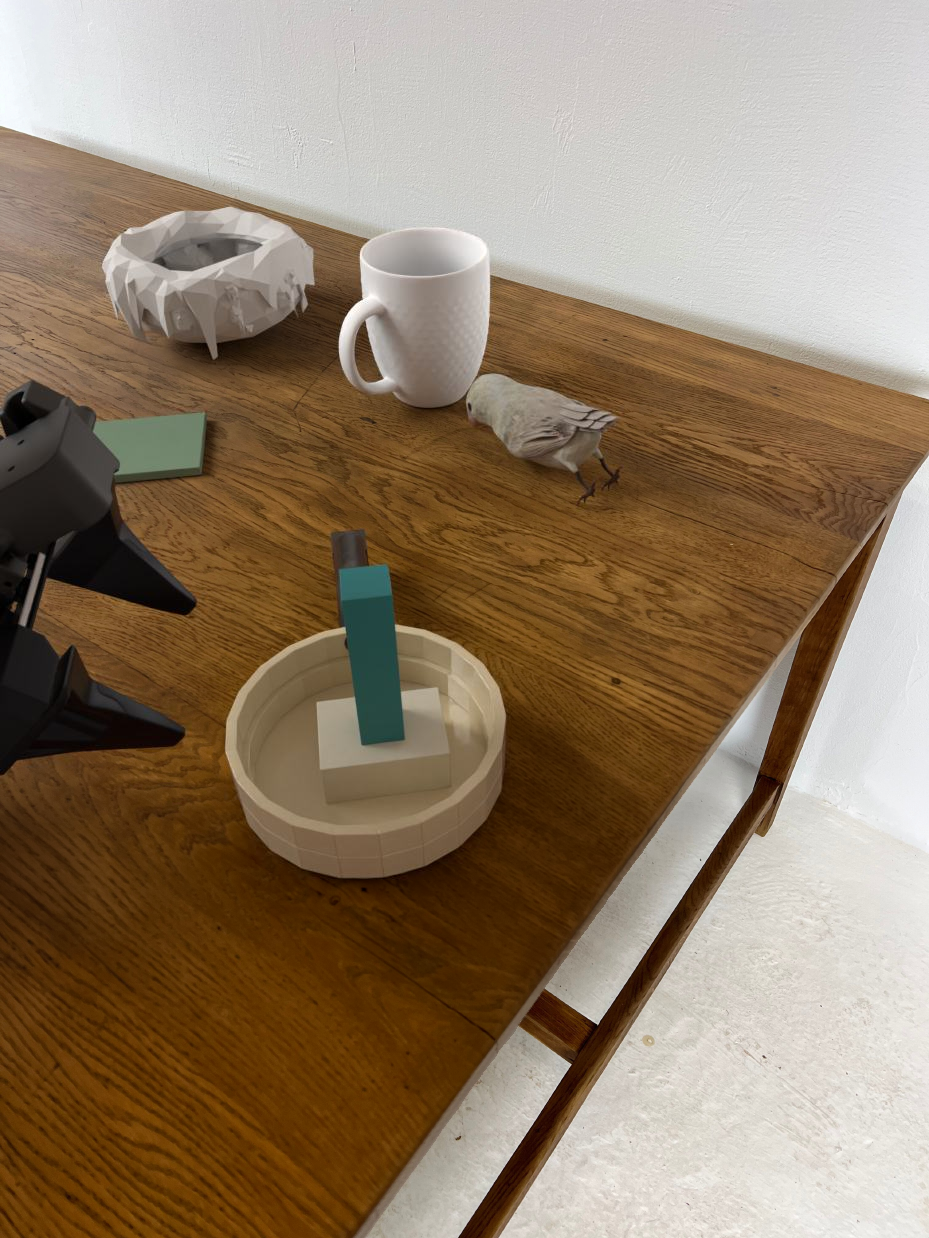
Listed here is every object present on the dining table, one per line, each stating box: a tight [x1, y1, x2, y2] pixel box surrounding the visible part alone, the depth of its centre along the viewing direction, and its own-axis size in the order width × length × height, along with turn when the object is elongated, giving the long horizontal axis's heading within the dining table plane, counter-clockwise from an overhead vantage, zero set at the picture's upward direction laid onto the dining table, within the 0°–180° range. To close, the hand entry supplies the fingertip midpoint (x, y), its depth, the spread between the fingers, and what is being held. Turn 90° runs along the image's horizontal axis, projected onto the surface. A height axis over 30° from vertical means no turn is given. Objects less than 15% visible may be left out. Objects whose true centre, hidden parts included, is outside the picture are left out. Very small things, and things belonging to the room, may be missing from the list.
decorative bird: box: [465, 373, 624, 507], centre depth 75 cm, size 5×16×8 cm, turn 41°
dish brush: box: [317, 563, 451, 804], centre depth 49 cm, size 7×5×14 cm
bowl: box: [101, 206, 316, 361], centre depth 94 cm, size 21×20×10 cm
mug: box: [338, 226, 491, 409], centre depth 82 cm, size 15×11×13 cm
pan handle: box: [330, 528, 370, 650], centre depth 62 cm, size 2×12×5 cm, turn 9°
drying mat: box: [93, 411, 208, 484], centre depth 80 cm, size 11×9×1 cm
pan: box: [224, 623, 507, 879], centre depth 53 cm, size 15×15×4 cm
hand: (187, 668), depth 47 cm, fingers open, 9 cm apart
